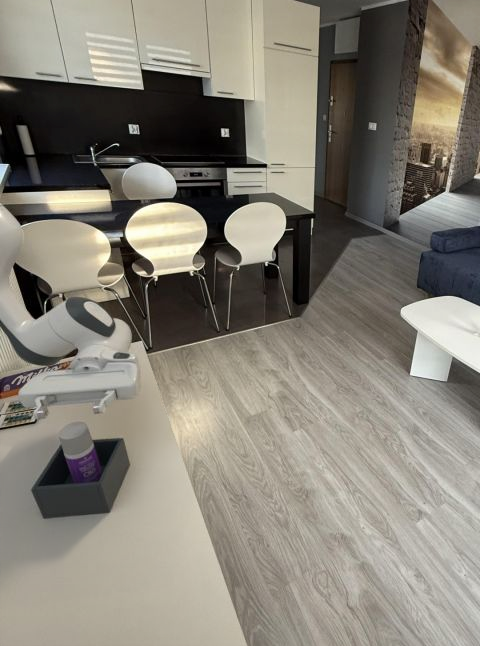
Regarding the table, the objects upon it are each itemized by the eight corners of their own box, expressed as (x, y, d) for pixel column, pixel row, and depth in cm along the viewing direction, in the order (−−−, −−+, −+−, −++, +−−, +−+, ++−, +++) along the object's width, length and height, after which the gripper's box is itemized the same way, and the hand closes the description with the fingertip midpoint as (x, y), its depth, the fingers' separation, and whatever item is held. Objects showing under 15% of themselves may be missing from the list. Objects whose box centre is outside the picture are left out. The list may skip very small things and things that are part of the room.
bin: (43, 518, 74) (30, 489, 71) (72, 468, 84) (62, 441, 80) (109, 512, 76) (100, 484, 73) (130, 464, 86) (123, 437, 83)
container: (92, 498, 77) (73, 442, 71) (71, 493, 78) (50, 436, 71) (110, 478, 82) (94, 423, 75) (89, 474, 82) (72, 419, 76)
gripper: (33, 360, 81) (-5, 406, 69) (143, 353, 86) (126, 395, 74) (42, 385, 84) (7, 432, 72) (148, 377, 89) (132, 420, 77)
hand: (68, 413), depth 73 cm, fingers open, 8 cm apart
